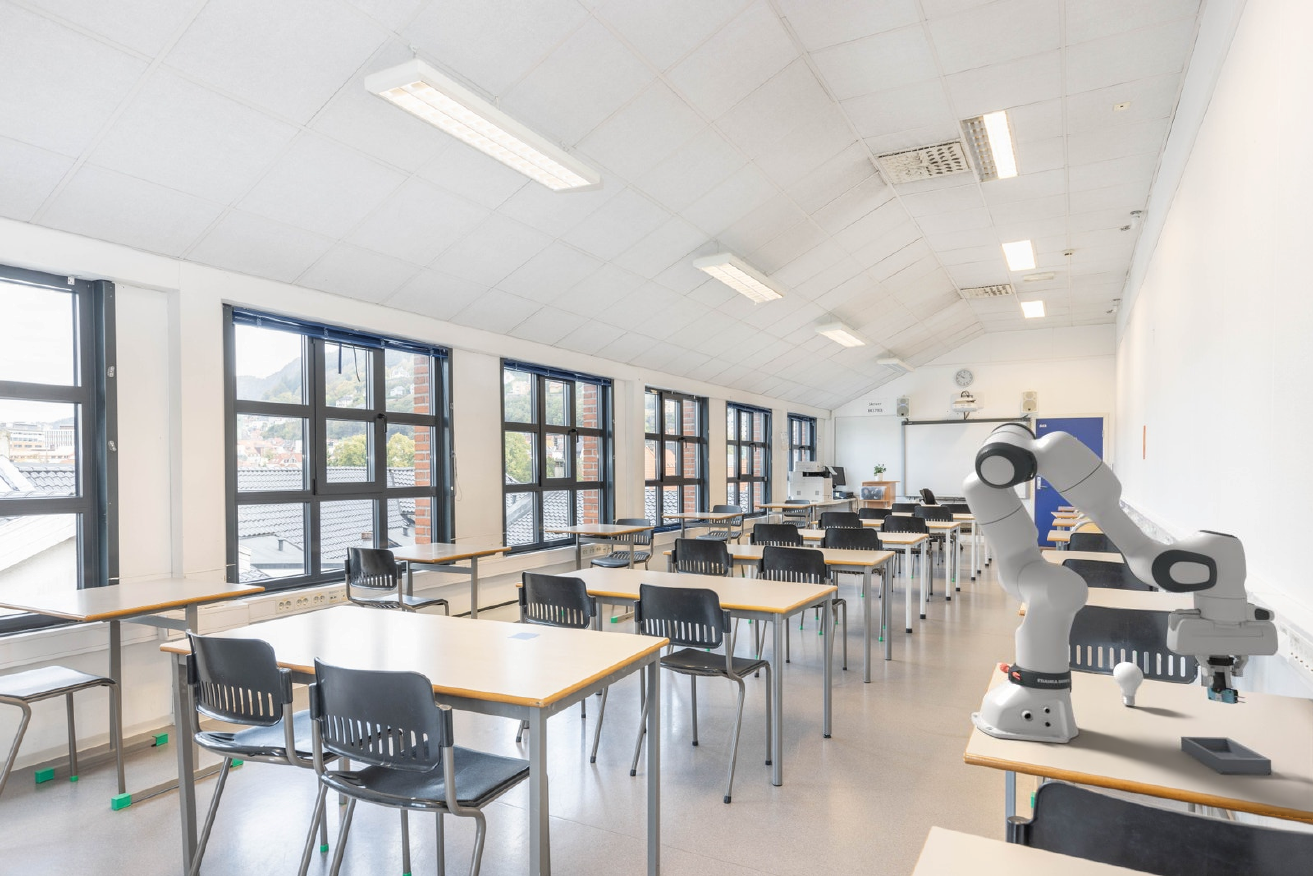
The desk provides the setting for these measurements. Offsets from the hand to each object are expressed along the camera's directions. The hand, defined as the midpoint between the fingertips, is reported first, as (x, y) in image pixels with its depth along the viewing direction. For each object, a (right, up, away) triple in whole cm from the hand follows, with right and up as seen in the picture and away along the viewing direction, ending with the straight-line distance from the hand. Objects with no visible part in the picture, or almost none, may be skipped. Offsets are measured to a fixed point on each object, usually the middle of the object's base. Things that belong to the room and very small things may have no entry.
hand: (1222, 676), depth 148 cm
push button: (0, -5, -1) cm, 6 cm away
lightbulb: (+3, -19, +33) cm, 38 cm away
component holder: (0, -18, -1) cm, 18 cm away
